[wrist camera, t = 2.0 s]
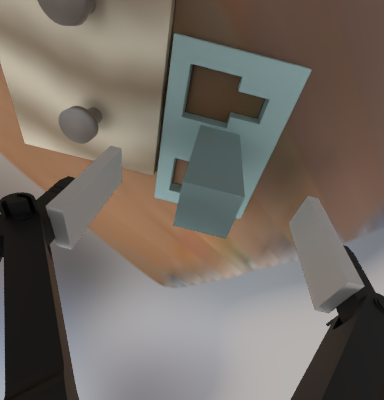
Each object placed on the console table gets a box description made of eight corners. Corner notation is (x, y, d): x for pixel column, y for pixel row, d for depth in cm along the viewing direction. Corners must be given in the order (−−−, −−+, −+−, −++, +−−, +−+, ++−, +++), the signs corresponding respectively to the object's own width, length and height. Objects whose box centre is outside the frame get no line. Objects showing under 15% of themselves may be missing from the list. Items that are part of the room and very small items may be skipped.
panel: (178, 33, 16) (124, 37, 8) (306, 66, 17) (379, 103, 8) (157, 189, 26) (123, 264, 18) (239, 210, 26) (243, 293, 18)
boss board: (-48, -146, 13) (-145, -207, 9) (184, -83, 13) (168, -121, 10) (31, 139, 24) (0, 157, 21) (155, 171, 24) (143, 193, 21)
